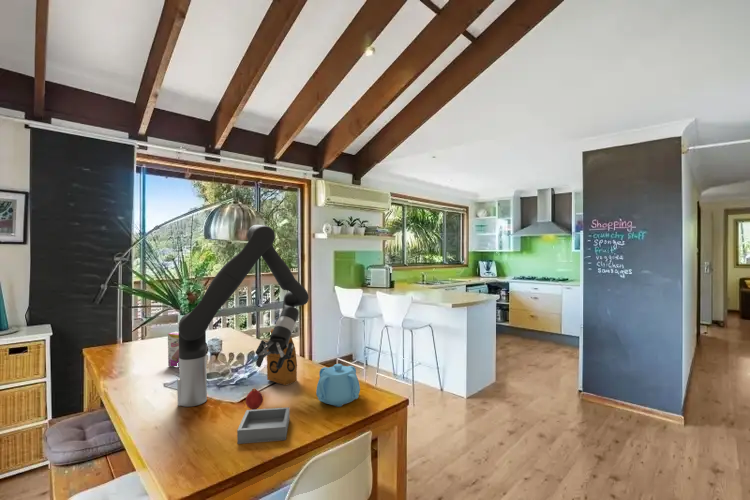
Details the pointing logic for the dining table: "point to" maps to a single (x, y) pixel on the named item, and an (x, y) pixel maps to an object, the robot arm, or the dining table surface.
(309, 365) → the dining table surface
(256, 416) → the bin
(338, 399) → the decorative pot
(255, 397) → the onion
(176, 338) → the candy bar box
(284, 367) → the coffee package
